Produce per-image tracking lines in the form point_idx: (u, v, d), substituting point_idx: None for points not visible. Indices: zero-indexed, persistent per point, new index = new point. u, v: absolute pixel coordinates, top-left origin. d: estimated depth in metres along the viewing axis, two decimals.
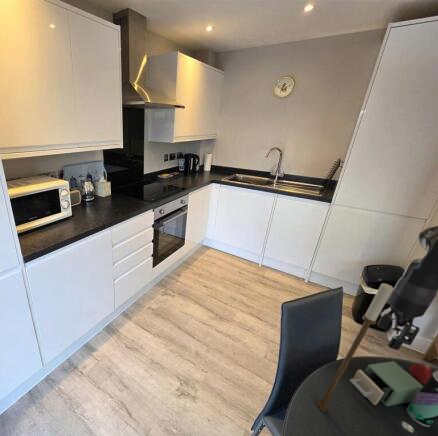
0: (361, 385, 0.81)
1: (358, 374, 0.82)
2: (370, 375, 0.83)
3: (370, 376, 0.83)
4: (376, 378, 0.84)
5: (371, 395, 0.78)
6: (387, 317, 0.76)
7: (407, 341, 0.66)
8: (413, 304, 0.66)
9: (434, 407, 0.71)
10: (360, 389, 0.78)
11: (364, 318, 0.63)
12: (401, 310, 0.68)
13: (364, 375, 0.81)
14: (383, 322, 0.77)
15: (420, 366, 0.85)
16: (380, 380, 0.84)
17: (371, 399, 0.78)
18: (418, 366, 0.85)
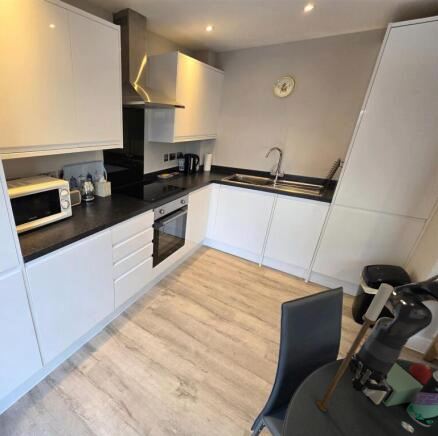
0: None
1: None
2: None
3: None
4: None
5: (373, 395, 0.78)
6: (361, 377, 0.77)
7: None
8: (389, 364, 0.69)
9: (434, 407, 0.71)
10: None
11: (364, 318, 0.63)
12: (379, 370, 0.71)
13: None
14: None
15: (420, 366, 0.85)
16: None
17: (373, 399, 0.78)
18: (418, 366, 0.85)
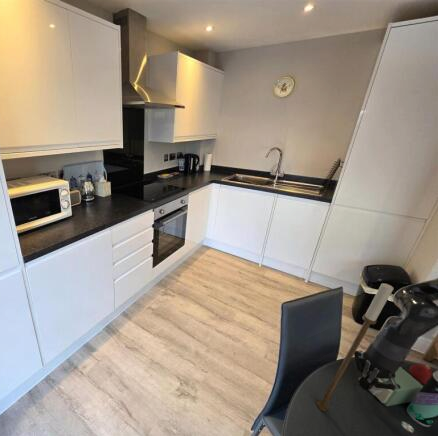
0: None
1: None
2: None
3: None
4: None
5: (380, 393, 0.79)
6: (368, 376, 0.78)
7: None
8: (398, 362, 0.70)
9: (434, 407, 0.71)
10: None
11: (364, 318, 0.63)
12: (388, 368, 0.71)
13: None
14: None
15: (420, 366, 0.85)
16: None
17: (380, 397, 0.79)
18: (418, 366, 0.85)
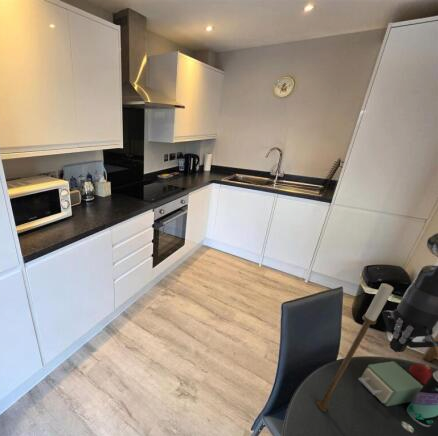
0: (370, 384, 0.82)
1: (366, 373, 0.83)
2: None
3: None
4: None
5: (380, 393, 0.79)
6: (401, 336, 0.70)
7: None
8: (436, 316, 0.62)
9: (434, 407, 0.71)
10: (369, 388, 0.79)
11: (364, 318, 0.63)
12: (424, 324, 0.63)
13: (373, 374, 0.81)
14: None
15: (420, 366, 0.85)
16: None
17: (380, 397, 0.79)
18: (418, 366, 0.85)
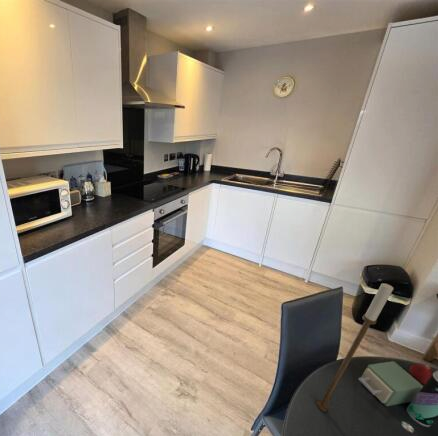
0: (370, 384, 0.82)
1: (366, 373, 0.83)
2: None
3: None
4: None
5: (380, 393, 0.79)
6: None
7: None
8: None
9: (434, 407, 0.71)
10: (369, 388, 0.79)
11: (364, 318, 0.63)
12: None
13: (373, 374, 0.81)
14: None
15: (420, 366, 0.85)
16: None
17: (380, 397, 0.79)
18: (418, 366, 0.85)
